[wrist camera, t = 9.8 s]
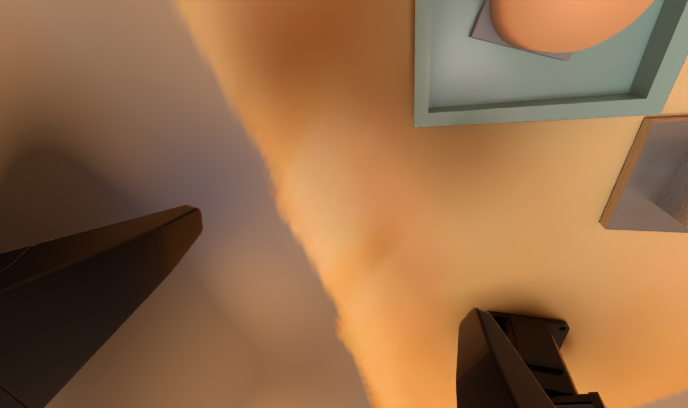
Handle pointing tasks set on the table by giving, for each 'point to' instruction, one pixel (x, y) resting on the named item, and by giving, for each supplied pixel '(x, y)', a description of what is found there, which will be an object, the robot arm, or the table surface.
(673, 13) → the bin
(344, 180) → the table surface
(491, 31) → the tan cylindrical plug
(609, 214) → the stud fixture
